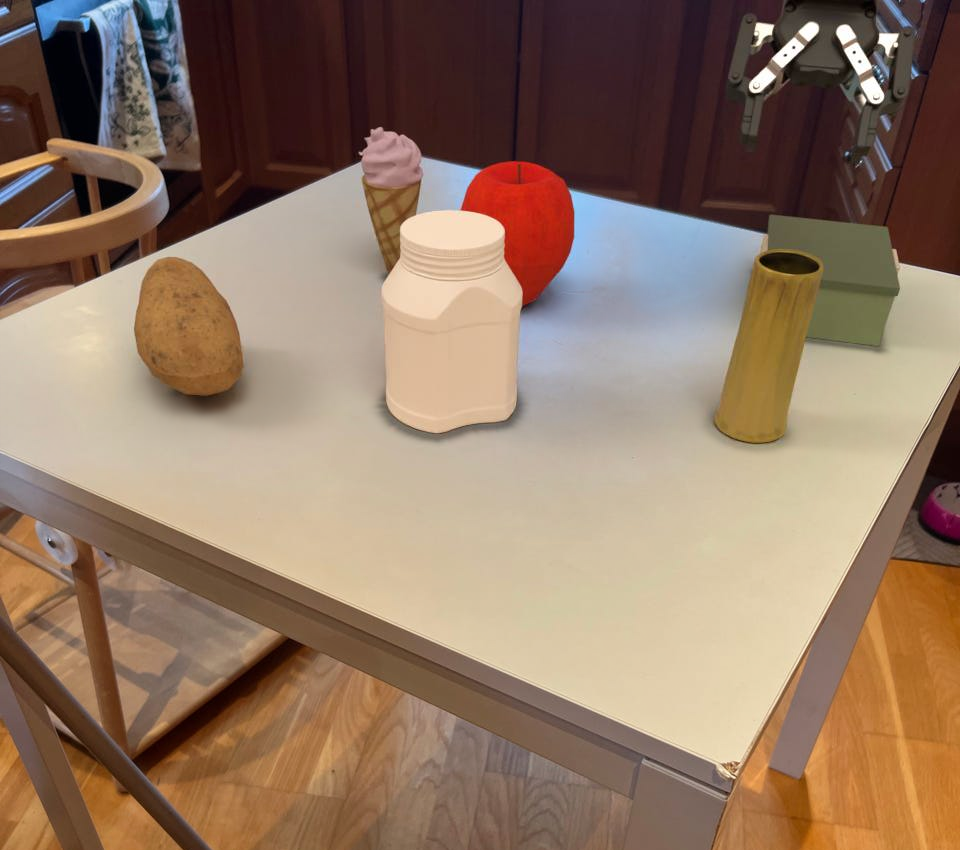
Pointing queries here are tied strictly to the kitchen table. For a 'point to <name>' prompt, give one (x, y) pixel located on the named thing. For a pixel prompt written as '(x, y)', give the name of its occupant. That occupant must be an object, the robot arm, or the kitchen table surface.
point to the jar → (451, 323)
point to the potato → (187, 329)
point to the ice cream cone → (390, 187)
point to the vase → (769, 345)
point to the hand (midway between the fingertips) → (803, 152)
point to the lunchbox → (843, 275)
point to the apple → (526, 219)
